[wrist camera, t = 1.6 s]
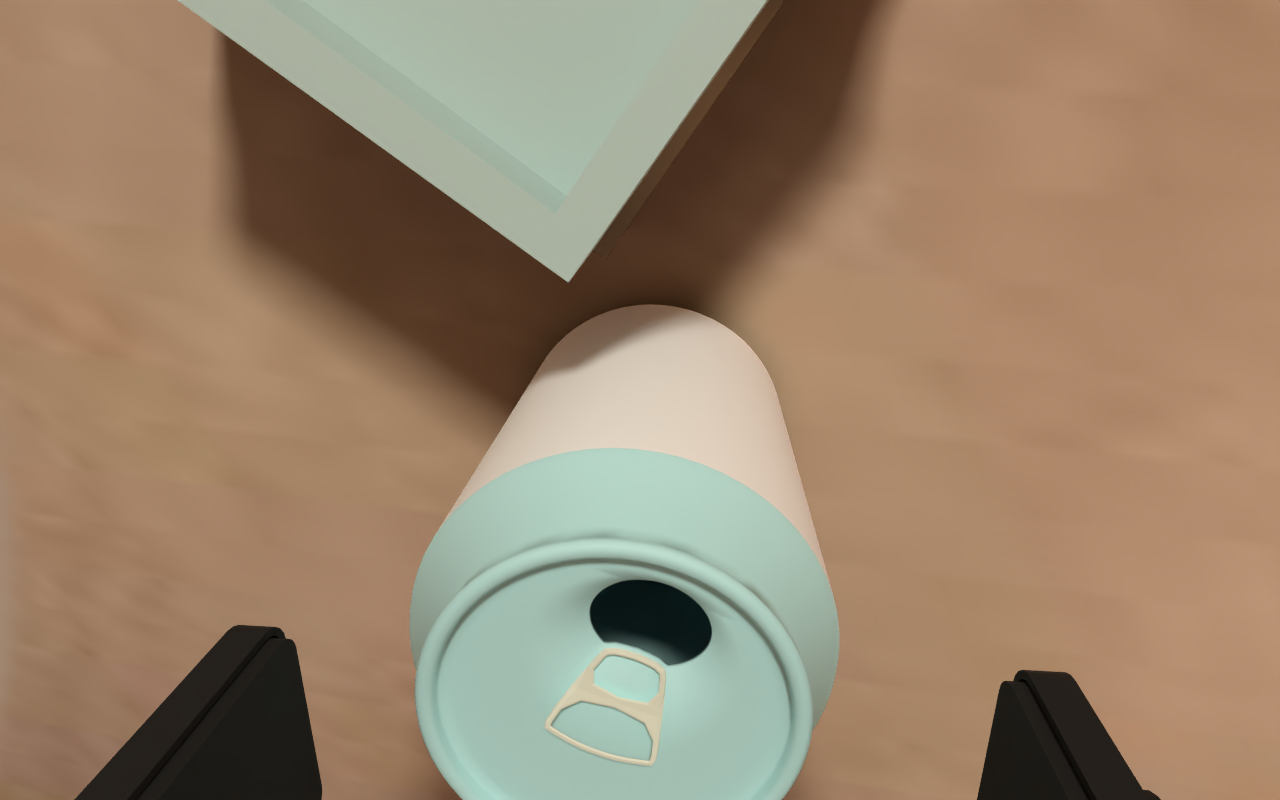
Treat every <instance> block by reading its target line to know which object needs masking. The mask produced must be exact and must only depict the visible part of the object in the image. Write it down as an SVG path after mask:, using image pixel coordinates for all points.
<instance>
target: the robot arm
mask: <svg viewBox="0 0 1280 800" xmlns="http://www.w3.org/2000/svg"><path fill="white" fill-rule="evenodd" d="M321 798H322V784H321V779H320V774H319V768H318V763H317V757H316V752H315V747H314V741H313V736H312V730H311V725H310V720H309V714H308V709H307V703H306V698H305V693H304V687H303V682H302V676H301V671H300V666H299V660H298V655H297V649H296V646H295V643H294V642H293V640H291V639H286V638H285V635H284V632H283V631H282V630H281V629H280V628H277V627H265V626H248V625H237V626H234V627H232V628H231V629H230V630H228V631H227V632H226V633H225V634H224V636H223V637H222V638H221V639H220V640H219V641H218V642H217V643H216V644H215V645H214V647H213V648H212V649H211V650H210V651H209V652H208V653H207V654H206V655H205V656H204V658H203V659H202V660H201V661H200V662H199V663H198V664H197V665H196V666H195V668H194V669H193V670H192V671H191V672H190V673H189V674H188V675H187V676H186V677H185V679H184V680H183V681H182V682H181V683H180V684H179V685H178V686H177V687H176V688H175V690H174V691H173V692H172V693H171V694H170V695H169V696H168V697H167V698H166V699H165V701H164V702H163V703H162V704H161V705H160V706H159V707H158V708H157V709H156V710H155V712H154V713H153V714H152V715H151V716H150V717H149V718H148V719H147V720H146V722H145V723H144V724H143V725H142V726H141V727H140V728H139V729H138V730H137V731H136V733H135V734H134V735H133V736H132V737H131V738H130V739H129V740H128V741H127V742H126V744H125V745H124V746H123V747H122V748H121V749H120V750H119V751H118V752H117V753H116V755H115V756H114V757H113V758H112V759H111V760H110V761H109V762H108V763H107V764H106V766H105V767H104V768H103V769H102V770H101V771H100V772H99V773H98V774H97V776H96V777H95V778H94V779H93V780H92V781H91V782H90V783H89V784H88V785H87V787H86V788H85V789H84V790H83V791H82V792H81V793H80V794H79V795H78V796H77V798H76V799H75V800H321ZM977 800H1161V799H1160V798H1159V797H1158V796H1157V795H1155V794H1154V793H1152V792H1151V791H1149V790H1143V789H1142V788H1141V786H1140V784H1139V783H1138V781H1137V780H1136V778H1135V776H1134V775H1133V773H1132V771H1131V770H1130V768H1129V767H1128V765H1127V763H1126V762H1125V760H1124V759H1123V757H1122V755H1121V754H1120V752H1119V750H1118V749H1117V747H1116V746H1115V744H1114V742H1113V741H1112V739H1111V737H1110V736H1109V734H1108V733H1107V731H1106V729H1105V728H1104V726H1103V725H1102V723H1101V721H1100V720H1099V718H1098V716H1097V715H1096V713H1095V712H1094V710H1093V708H1092V707H1091V705H1090V703H1089V702H1088V700H1087V699H1086V697H1085V695H1084V694H1083V692H1082V691H1081V689H1080V687H1079V686H1078V684H1077V682H1076V681H1075V680H1074V678H1073V677H1072V676H1071V675H1070V674H1068V673H1066V672H1049V671H1031V670H1020V671H1018V672H1017V674H1016V675H1015V678H1014V681H1004V682H1003V683H1002V684H1001V686H1000V689H999V694H998V699H997V704H996V709H995V714H994V718H993V723H992V728H991V733H990V738H989V743H988V748H987V753H986V758H985V763H984V768H983V773H982V778H981V783H980V788H979V793H978V798H977Z"/></svg>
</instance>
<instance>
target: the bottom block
mask: <svg viewBox="0 0 1280 800" xmlns="http://www.w3.org/2000/svg"><path fill="white" fill-rule="evenodd" d="M784 1H785V0H769V1H768V2H767V4H766V5H765V7H764V8H763V9H762V11H761V12H760V14H759V15H758V17H757V18H756V19H755V21H754V22H753V24H752V25H751V26H750V28H749V29H748V31H747V32H746V34H745V35H744V36H743V38H742V39H741V41H740V42H739V43H738V45H737V46H736V48H735V49H734V51H733V52H732V53H731V55H730V56H729V58H728V59H727V61H726V62H725V63H724V65H723V66H722V68H721V69H720V70H719V72H718V73H717V75H716V76H715V78H714V79H713V80H712V82H711V83H710V85H709V86H708V88H707V89H706V90H705V92H704V93H703V95H702V96H701V97H700V99H699V100H698V102H697V103H696V105H695V106H694V107H693V109H692V110H691V112H690V113H689V115H688V116H687V117H686V119H685V120H684V122H683V123H682V124H681V126H680V127H679V129H678V130H677V132H676V133H675V134H674V136H673V137H672V139H671V140H670V141H669V143H668V144H667V146H666V147H665V149H664V150H663V151H662V153H661V154H660V156H659V157H658V159H657V160H656V161H655V163H654V164H653V166H652V167H651V168H650V170H649V171H648V173H647V174H646V176H645V177H644V178H643V180H642V181H641V183H640V184H639V186H638V187H637V188H636V190H635V191H634V193H633V194H632V195H631V197H630V198H629V200H628V201H627V203H626V204H625V205H624V207H623V208H622V210H621V211H620V213H619V214H618V215H617V217H616V218H615V220H614V221H613V222H612V224H611V225H610V227H609V228H608V230H607V231H606V232H605V234H604V235H603V237H602V238H601V239H600V241H599V242H598V244H597V245H596V247H595V248H594V249H593V251H595V252H596V253H598V254H599V255H600V256H602V257H603V258H605V259H606V258H607V256H608V255H609V253H610V252H611V250H612V249H613V247H614V246H615V245H616V243H617V242H618V240H619V239H620V237H621V236H622V235H623V233H624V232H625V230H626V229H627V227H628V226H629V224H630V223H631V222H632V220H633V219H634V217H635V216H636V214H637V213H638V211H639V210H640V209H641V207H642V206H643V204H644V203H645V201H646V200H647V198H648V197H649V196H650V194H651V193H652V191H653V190H654V188H655V187H656V185H657V184H658V183H659V181H660V180H661V178H662V177H663V175H664V174H665V172H666V171H667V170H668V168H669V167H670V165H671V164H672V162H673V161H674V160H675V158H676V157H677V155H678V154H679V152H680V151H681V149H682V148H683V147H684V145H685V144H686V142H687V141H688V139H689V138H690V136H691V135H692V134H693V132H694V131H695V129H696V128H697V126H698V125H699V123H700V122H701V121H702V119H703V118H704V116H705V115H706V113H707V112H708V110H709V109H710V108H711V106H712V105H713V103H714V102H715V100H716V99H717V97H718V96H719V95H720V93H721V92H722V90H723V89H724V87H725V86H726V85H727V83H728V82H729V80H730V79H731V77H732V76H733V74H734V73H735V72H736V70H737V69H738V67H739V66H740V64H741V63H742V61H743V60H744V59H745V57H746V56H747V54H748V53H749V51H750V50H751V48H752V47H753V46H754V44H755V43H756V41H757V40H758V38H759V37H760V35H761V34H762V33H763V31H764V30H765V28H766V27H767V25H768V24H769V22H770V21H771V20H772V18H773V17H774V15H775V14H776V12H777V11H778V9H779V8H780V7H781V5H782V4H783V2H784Z"/></svg>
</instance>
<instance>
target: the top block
mask: <svg viewBox="0 0 1280 800" xmlns="http://www.w3.org/2000/svg"><path fill="white" fill-rule="evenodd" d="M178 1H179V2H181V3H182V4H183V5H185V6H186V7H188V8H189V9H190V10H192V11H193V12H195V13H196V14H197V15H199V16H200V17H201V18H203V19H204V20H206V21H207V22H208V23H210V24H211V25H213V26H214V27H215V28H217V29H218V30H219V31H221V32H222V33H224V34H225V35H226V36H228V37H229V38H231V39H232V40H233V41H235V42H236V43H237V44H239V45H240V46H242V47H243V48H244V49H246V50H247V51H249V52H250V53H251V54H253V55H254V56H255V57H257V58H258V59H260V60H261V61H262V62H264V63H265V64H267V65H268V66H269V67H271V68H272V69H273V70H275V71H276V72H278V73H279V74H280V75H282V76H283V77H285V78H286V79H287V80H289V81H290V82H291V83H293V84H294V85H296V86H297V87H298V88H300V89H301V90H303V91H304V92H305V93H307V94H308V95H309V96H311V97H312V98H314V99H315V100H316V101H318V102H319V103H320V104H322V105H323V106H325V107H326V108H327V109H329V110H330V111H332V112H333V113H334V114H336V115H337V116H338V117H340V118H341V119H343V120H344V121H345V122H347V123H348V124H350V125H351V126H352V127H354V128H355V129H356V130H358V131H359V132H361V133H362V134H363V135H365V136H366V137H368V138H369V139H370V140H372V141H373V142H374V143H376V144H377V145H379V146H380V147H381V148H383V149H384V150H386V151H387V152H388V153H390V154H391V155H392V156H394V157H395V158H397V159H398V160H399V161H401V162H402V163H404V164H405V165H406V166H408V167H409V168H410V169H412V170H413V171H415V172H416V173H417V174H419V175H420V176H422V177H423V178H424V179H426V180H427V181H428V182H430V183H431V184H433V185H434V186H435V187H437V188H438V189H440V190H441V191H442V192H444V193H445V194H446V195H448V196H449V197H451V198H452V199H453V200H455V201H456V202H458V203H459V204H460V205H462V206H463V207H464V208H466V209H467V210H469V211H470V212H471V213H473V214H474V215H475V216H477V217H478V218H480V219H481V220H482V221H484V222H485V223H487V224H488V225H489V226H491V227H492V228H493V229H495V230H496V231H498V232H499V233H500V234H502V235H503V236H505V237H506V238H507V239H509V240H510V241H511V242H513V243H514V244H516V245H517V246H518V247H520V248H521V249H523V250H524V251H525V252H527V253H528V254H529V255H531V256H532V257H534V258H535V259H536V260H538V261H539V262H541V263H542V264H543V265H545V266H546V267H547V268H549V269H550V270H552V271H553V272H554V273H556V274H557V275H559V276H560V277H561V278H563V279H564V280H565V281H567V282H569V281H570V280H571V278H572V277H573V276H574V274H575V273H576V272H577V270H578V269H579V268H580V267H581V265H582V264H583V263H584V261H585V260H586V259H587V257H588V256H589V255H590V253H591V252H592V251H593V249H594V248H595V247H596V245H597V244H598V242H599V241H600V239H601V238H602V237H603V235H604V234H605V232H606V231H607V230H608V228H609V227H610V225H611V224H612V222H613V221H614V220H615V218H616V217H617V215H618V214H619V213H620V211H621V210H622V208H623V207H624V205H625V204H626V203H627V201H628V200H629V198H630V197H631V195H632V194H633V193H634V191H635V190H636V188H637V187H638V186H639V184H640V183H641V181H642V180H643V178H644V177H645V176H646V174H647V173H648V171H649V170H650V168H651V167H652V166H653V164H654V163H655V161H656V160H657V159H658V157H659V156H660V154H661V153H662V151H663V150H664V149H665V147H666V146H667V144H668V143H669V141H670V140H671V139H672V137H673V136H674V134H675V133H676V132H677V130H678V129H679V127H680V126H681V124H682V123H683V122H684V120H685V119H686V117H687V116H688V115H689V113H690V112H691V110H692V109H693V107H694V106H695V105H696V103H697V102H698V100H699V99H700V97H701V96H702V95H703V93H704V92H705V90H706V89H707V88H708V86H709V85H710V83H711V82H712V80H713V79H714V78H715V76H716V75H717V73H718V72H719V70H720V69H721V68H722V66H723V65H724V63H725V62H726V61H727V59H728V58H729V56H730V55H731V53H732V52H733V51H734V49H735V48H736V46H737V45H738V43H739V42H740V41H741V39H742V38H743V36H744V35H745V34H746V32H747V31H748V29H749V28H750V26H751V25H752V24H753V22H754V21H755V19H756V18H757V17H758V15H759V14H760V12H761V11H762V9H763V8H764V7H765V5H766V4H767V2H768V1H769V0H178Z"/></svg>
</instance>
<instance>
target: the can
mask: <svg viewBox="0 0 1280 800" xmlns="http://www.w3.org/2000/svg"><path fill="white" fill-rule="evenodd" d="M410 641H411V650H412V655H413V659H414V664H415V668H416V671H417V672H416V679H415V704H416V713H417V718H418V723H419V727H420V731H421V734H422V737H423V740H424V743H425V745H426V747H427V749H428V751H429V754H430V756H431V758H432V760H433V761H434V763H435V765H436V766H437V768H438V770H439V772H440V773H441V774H442V776H443V777H444V778H445V780H446V781H447V783H448V784H449V785H450V786H451V788H452V789H453V790H454V791H455V792H456V793H457V794H458V796H459V797H460V798H461V799H462V800H782V799H783V798H784V797H785V796H786V794H787V793H788V791H789V790H790V788H791V787H792V785H793V784H794V782H795V780H796V778H797V777H798V775H799V773H800V771H801V769H802V766H803V764H804V761H805V758H806V756H807V753H808V749H809V745H810V740H811V734H812V730H813V729H814V727H815V726H816V724H817V723H818V721H819V719H820V717H821V715H822V713H823V711H824V709H825V707H826V704H827V702H828V699H829V696H830V694H831V691H832V687H833V683H834V679H835V675H836V670H837V663H838V656H839V624H838V615H837V610H836V606H835V601H834V597H833V593H832V590H831V586H830V582H829V579H828V575H827V572H826V568H825V565H824V561H823V557H822V554H821V550H820V547H819V543H818V540H817V536H816V532H815V529H814V525H813V522H812V518H811V515H810V511H809V507H808V504H807V500H806V497H805V493H804V490H803V486H802V482H801V479H800V475H799V472H798V468H797V465H796V461H795V457H794V454H793V450H792V447H791V443H790V440H789V436H788V432H787V429H786V425H785V422H784V418H783V415H782V411H781V407H780V404H779V400H778V397H777V393H776V391H775V388H774V385H773V382H772V380H771V378H770V376H769V374H768V372H767V370H766V368H765V367H764V365H763V364H762V362H761V360H760V359H759V358H758V356H757V355H756V354H755V353H754V351H753V350H752V349H751V348H750V347H749V346H748V345H747V344H746V343H745V342H744V341H743V340H742V339H741V338H740V337H739V336H737V335H736V334H735V333H734V332H732V331H731V330H730V329H728V328H727V327H725V326H724V325H722V324H720V323H719V322H717V321H715V320H713V319H711V318H709V317H707V316H705V315H702V314H700V313H697V312H694V311H691V310H688V309H683V308H679V307H674V306H666V305H635V306H629V307H623V308H619V309H615V310H611V311H608V312H606V313H603V314H600V315H598V316H596V317H594V318H592V319H590V320H587V321H586V322H584V323H583V324H581V325H579V326H578V327H576V328H575V329H574V330H572V331H571V332H570V333H568V334H567V335H566V336H565V337H564V338H563V339H562V340H561V341H560V342H558V343H557V345H556V346H555V347H554V348H553V349H552V350H551V352H550V353H549V354H548V356H547V357H546V359H545V360H544V361H543V363H542V365H541V366H540V368H539V369H538V371H537V373H536V374H535V376H534V377H533V379H532V381H531V382H530V384H529V385H528V387H527V389H526V390H525V392H524V393H523V395H522V397H521V398H520V400H519V401H518V403H517V405H516V406H515V408H514V409H513V411H512V413H511V414H510V416H509V417H508V419H507V421H506V422H505V424H504V425H503V427H502V429H501V430H500V432H499V433H498V435H497V437H496V438H495V440H494V442H493V443H492V445H491V446H490V448H489V450H488V451H487V453H486V454H485V456H484V458H483V459H482V461H481V462H480V464H479V466H478V467H477V469H476V470H475V472H474V474H473V475H472V477H471V478H470V480H469V482H468V483H467V485H466V486H465V488H464V490H463V491H462V493H461V494H460V496H459V498H458V499H457V501H456V502H455V504H454V506H453V507H452V509H451V510H450V512H449V514H448V515H447V517H446V518H445V520H444V522H443V523H442V525H441V527H440V528H439V530H438V531H437V533H436V535H435V536H434V538H433V539H432V541H431V543H430V545H429V547H428V549H427V551H426V552H425V554H424V557H423V559H422V562H421V564H420V567H419V569H418V572H417V576H416V580H415V583H414V587H413V593H412V600H411V608H410Z"/></svg>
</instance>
